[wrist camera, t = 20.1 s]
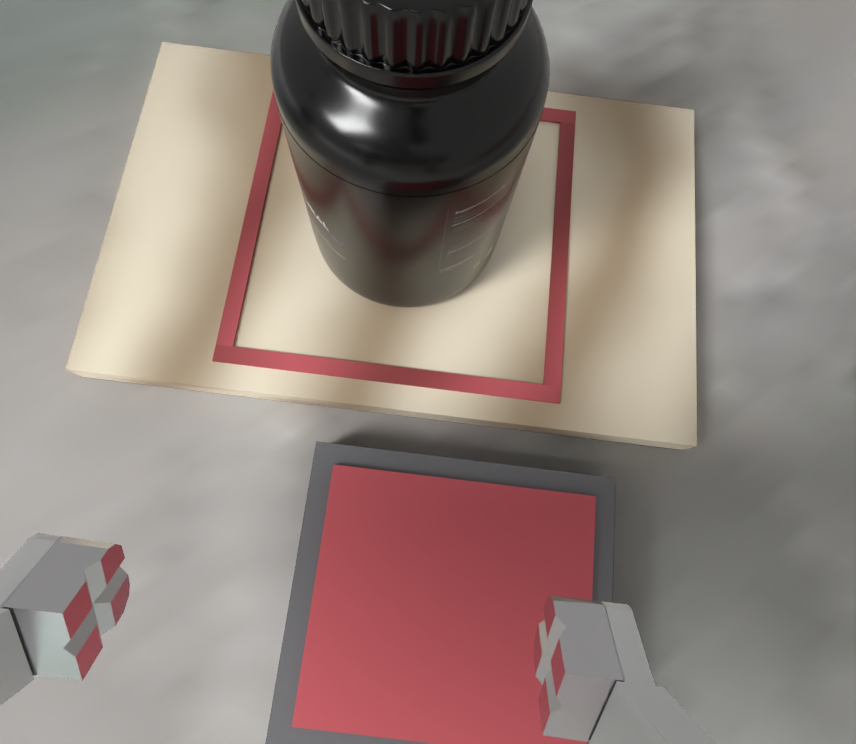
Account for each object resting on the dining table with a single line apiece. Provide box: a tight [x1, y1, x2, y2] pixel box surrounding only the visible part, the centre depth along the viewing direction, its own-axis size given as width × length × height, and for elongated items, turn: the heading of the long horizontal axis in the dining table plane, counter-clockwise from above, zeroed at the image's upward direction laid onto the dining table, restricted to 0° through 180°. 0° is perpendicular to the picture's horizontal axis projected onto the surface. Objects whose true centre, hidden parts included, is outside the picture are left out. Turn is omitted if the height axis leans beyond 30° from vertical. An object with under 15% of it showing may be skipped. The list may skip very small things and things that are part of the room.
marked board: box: [66, 42, 697, 450], centre depth 23 cm, size 22×14×1 cm, turn 83°
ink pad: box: [266, 441, 616, 744], centre depth 19 cm, size 10×9×2 cm
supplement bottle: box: [270, 0, 550, 308], centre depth 16 cm, size 7×7×12 cm
